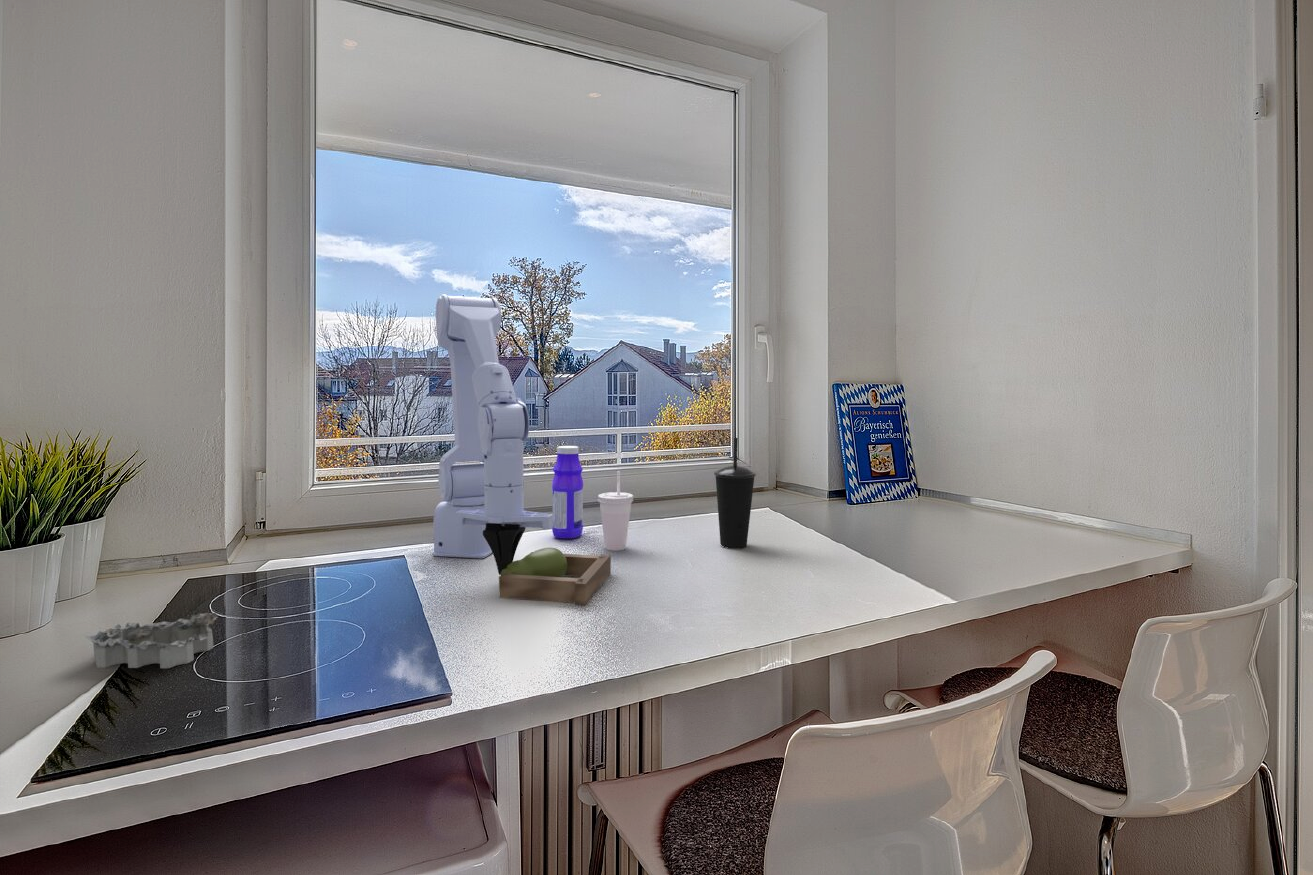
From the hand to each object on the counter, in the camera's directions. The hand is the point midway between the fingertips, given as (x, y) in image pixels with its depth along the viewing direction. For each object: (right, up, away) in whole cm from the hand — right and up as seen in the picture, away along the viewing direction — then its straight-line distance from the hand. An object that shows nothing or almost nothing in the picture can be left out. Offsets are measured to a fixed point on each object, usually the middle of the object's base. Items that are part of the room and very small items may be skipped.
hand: (505, 573), depth 103 cm
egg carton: (-33, -4, -27) cm, 43 cm away
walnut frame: (+8, -2, -1) cm, 8 cm away
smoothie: (+15, 0, +21) cm, 26 cm away
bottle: (+6, +1, +30) cm, 30 cm away
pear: (+5, -2, -1) cm, 5 cm away
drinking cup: (+37, 0, +23) cm, 44 cm away
